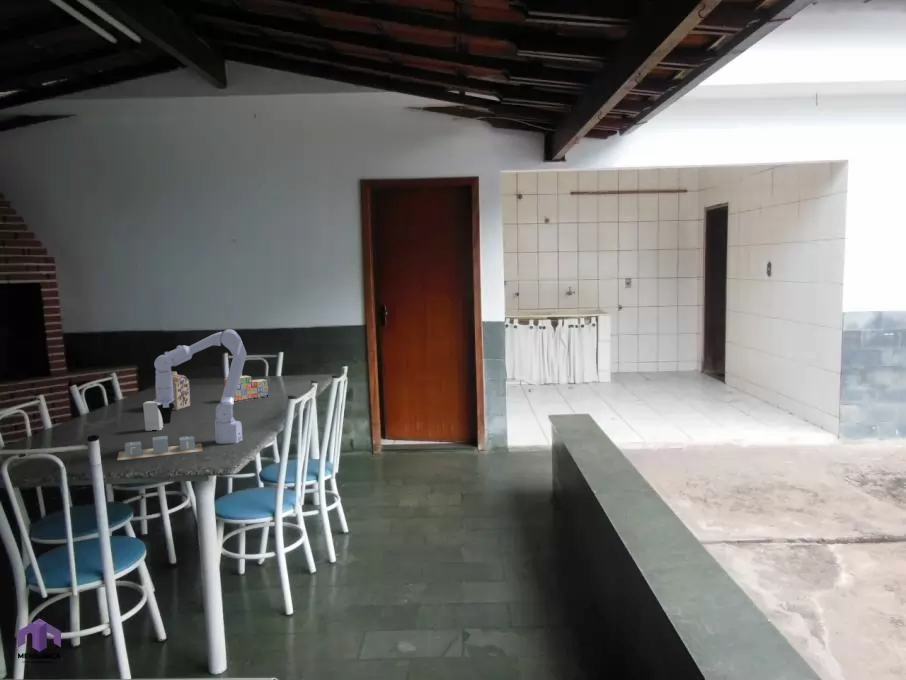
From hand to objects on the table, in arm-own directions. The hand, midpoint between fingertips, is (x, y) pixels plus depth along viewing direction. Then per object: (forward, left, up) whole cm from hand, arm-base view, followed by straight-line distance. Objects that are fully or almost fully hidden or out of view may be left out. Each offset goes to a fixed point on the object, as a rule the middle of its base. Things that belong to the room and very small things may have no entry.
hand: (166, 423), depth 245 cm
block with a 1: (-9, +3, -9) cm, 13 cm away
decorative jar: (+35, -76, -10) cm, 84 cm away
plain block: (-1, +7, -9) cm, 11 cm away
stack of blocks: (+7, -99, -10) cm, 99 cm away
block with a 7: (+7, +11, -9) cm, 16 cm away
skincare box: (+21, -30, -10) cm, 38 cm away
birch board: (-1, +7, -10) cm, 12 cm away
